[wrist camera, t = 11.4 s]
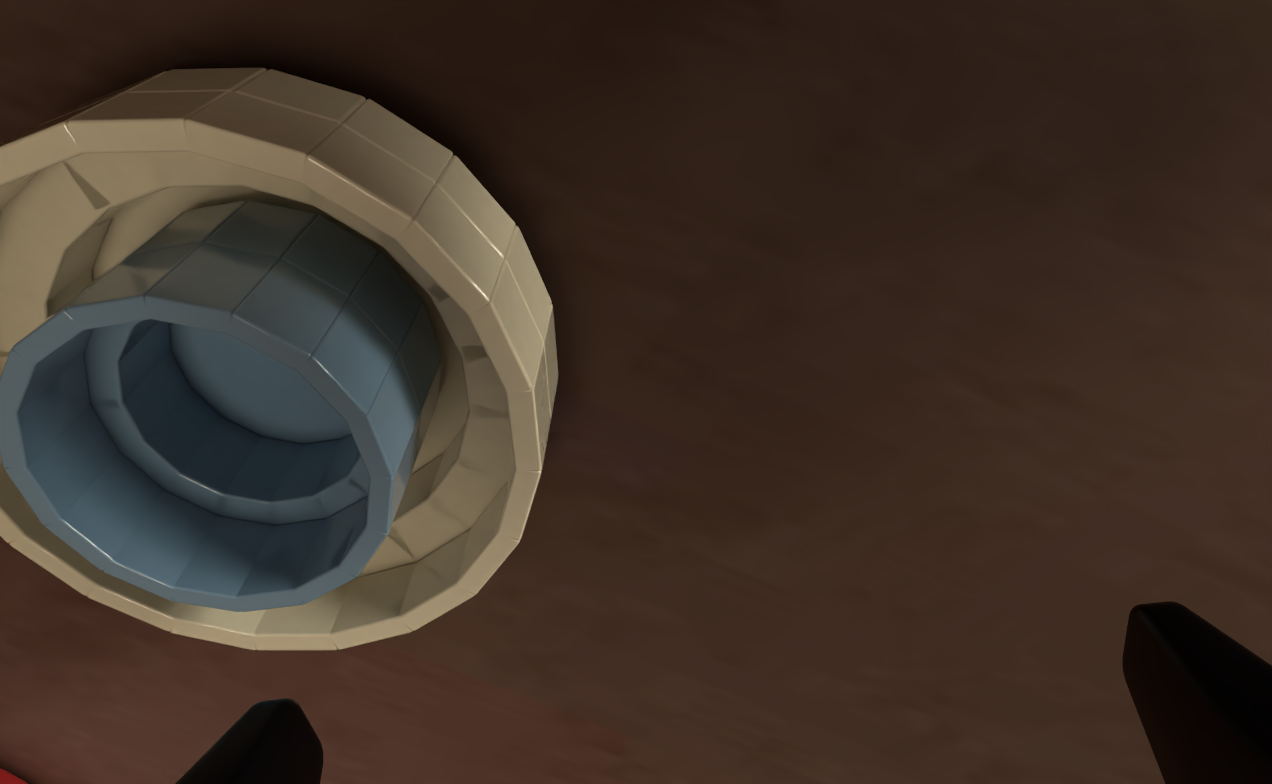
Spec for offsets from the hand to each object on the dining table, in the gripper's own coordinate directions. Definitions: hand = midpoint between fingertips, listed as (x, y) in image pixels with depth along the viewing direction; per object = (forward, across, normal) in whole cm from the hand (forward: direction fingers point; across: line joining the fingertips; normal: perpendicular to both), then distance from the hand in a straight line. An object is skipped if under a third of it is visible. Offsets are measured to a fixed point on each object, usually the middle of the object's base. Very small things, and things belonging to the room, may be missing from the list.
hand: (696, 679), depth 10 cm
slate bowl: (+12, +9, +1) cm, 15 cm away
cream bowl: (+12, +9, +1) cm, 15 cm away
